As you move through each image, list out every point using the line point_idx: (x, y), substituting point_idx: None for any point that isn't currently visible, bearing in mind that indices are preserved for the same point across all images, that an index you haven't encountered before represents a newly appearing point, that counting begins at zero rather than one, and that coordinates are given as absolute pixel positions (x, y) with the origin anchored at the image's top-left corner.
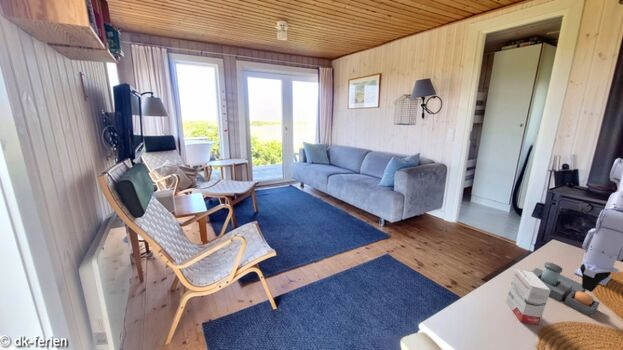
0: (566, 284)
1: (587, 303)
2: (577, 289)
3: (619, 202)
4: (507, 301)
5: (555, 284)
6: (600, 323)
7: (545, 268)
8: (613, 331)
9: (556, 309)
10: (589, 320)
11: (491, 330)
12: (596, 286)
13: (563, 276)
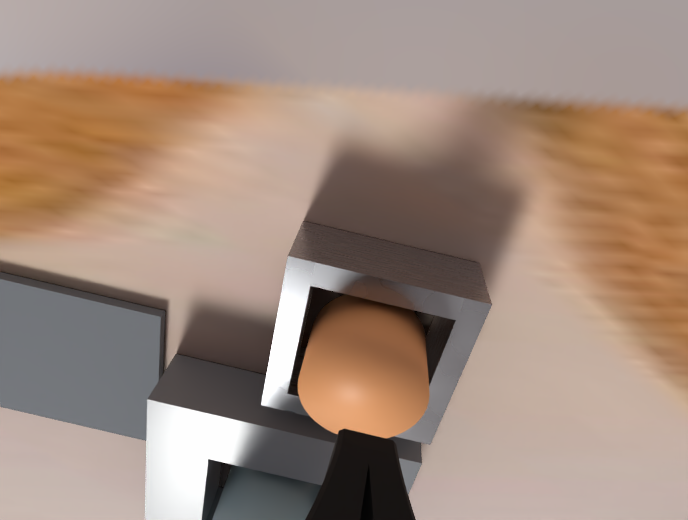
0: (206, 435)
1: (420, 342)
2: (116, 327)
3: None
4: None
5: (282, 483)
6: (527, 208)
7: None
8: (587, 130)
9: (561, 428)
10: (545, 271)
11: None
12: (376, 507)
13: (7, 392)
